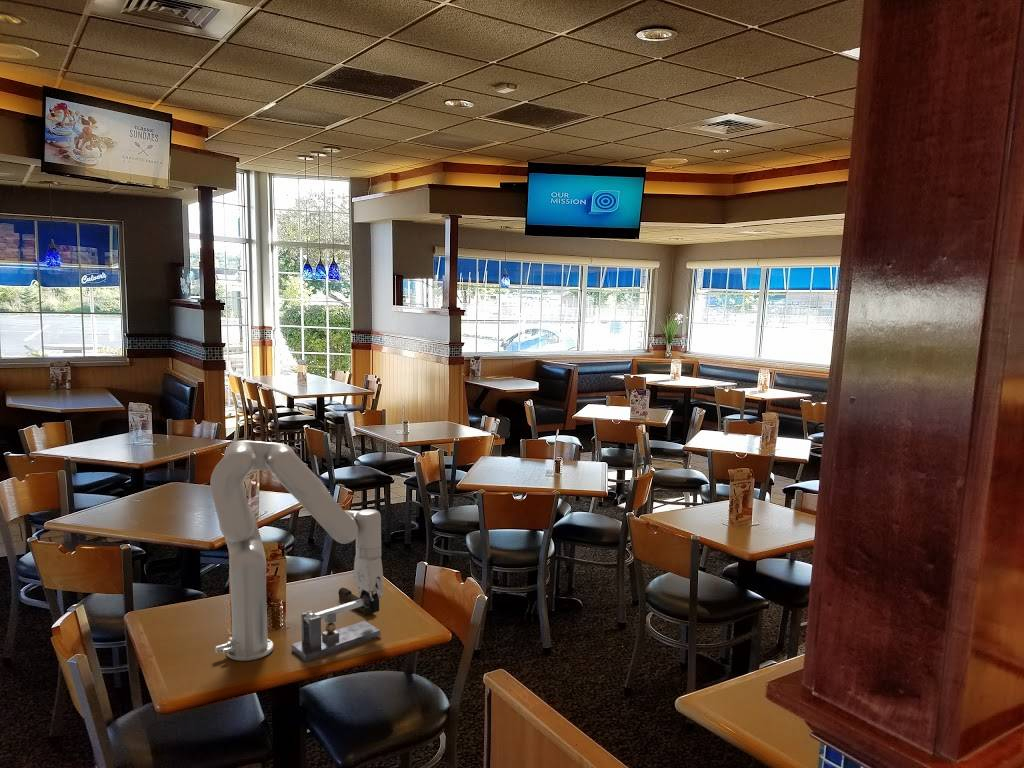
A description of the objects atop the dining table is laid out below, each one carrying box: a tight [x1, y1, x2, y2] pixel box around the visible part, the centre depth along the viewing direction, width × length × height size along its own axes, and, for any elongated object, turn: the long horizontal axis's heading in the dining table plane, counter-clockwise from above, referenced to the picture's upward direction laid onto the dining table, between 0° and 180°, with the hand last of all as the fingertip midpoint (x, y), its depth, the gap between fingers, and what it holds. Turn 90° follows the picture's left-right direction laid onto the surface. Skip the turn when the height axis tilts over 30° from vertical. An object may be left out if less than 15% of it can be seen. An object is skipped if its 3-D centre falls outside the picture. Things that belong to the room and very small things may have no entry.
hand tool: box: [338, 587, 374, 617], centre depth 241 cm, size 19×4×5 cm, turn 42°
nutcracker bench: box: [291, 610, 381, 663], centre depth 214 cm, size 24×9×11 cm, turn 132°
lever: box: [304, 592, 375, 624], centre depth 215 cm, size 23×4×5 cm, turn 132°
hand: (369, 608), depth 222 cm, fingers closed on lever, 4 cm apart
